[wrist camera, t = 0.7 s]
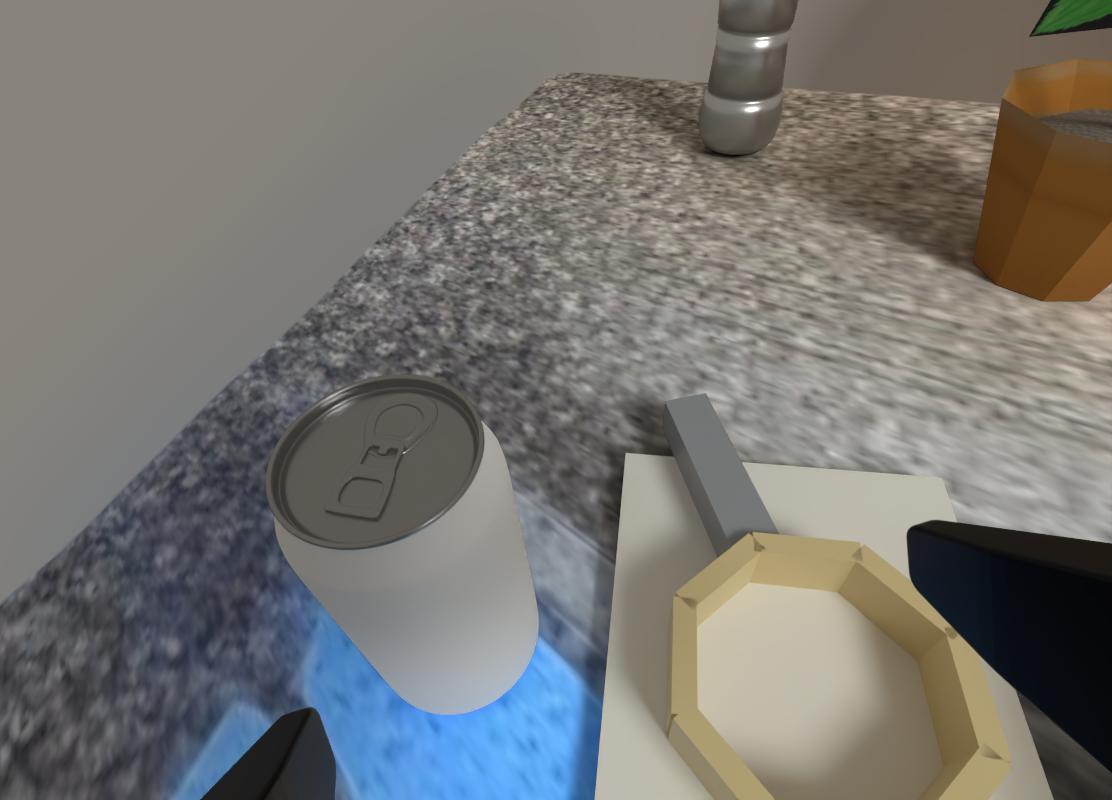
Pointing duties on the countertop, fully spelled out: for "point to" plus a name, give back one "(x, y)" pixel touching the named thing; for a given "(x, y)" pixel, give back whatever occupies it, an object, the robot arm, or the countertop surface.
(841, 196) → the countertop surface
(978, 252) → the potted plant
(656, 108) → the countertop surface
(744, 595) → the octagonal ring fixture plate
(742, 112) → the plastic bottle
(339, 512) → the can
